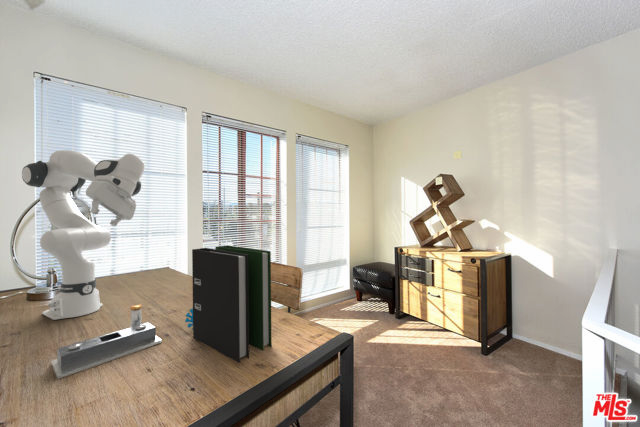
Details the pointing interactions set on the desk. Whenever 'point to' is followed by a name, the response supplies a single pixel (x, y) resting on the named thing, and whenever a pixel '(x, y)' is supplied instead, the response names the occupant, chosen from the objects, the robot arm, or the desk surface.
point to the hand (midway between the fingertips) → (103, 219)
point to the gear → (190, 318)
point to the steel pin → (135, 315)
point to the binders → (232, 299)
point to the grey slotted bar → (103, 349)
